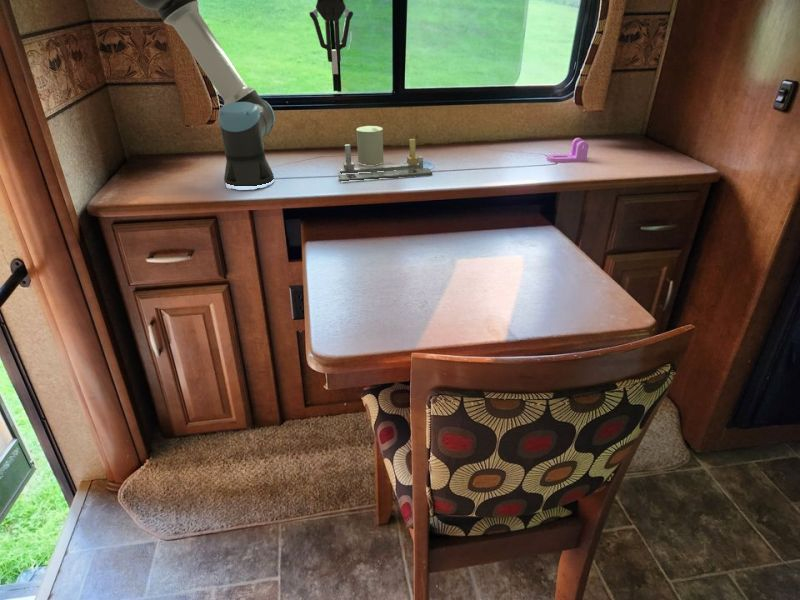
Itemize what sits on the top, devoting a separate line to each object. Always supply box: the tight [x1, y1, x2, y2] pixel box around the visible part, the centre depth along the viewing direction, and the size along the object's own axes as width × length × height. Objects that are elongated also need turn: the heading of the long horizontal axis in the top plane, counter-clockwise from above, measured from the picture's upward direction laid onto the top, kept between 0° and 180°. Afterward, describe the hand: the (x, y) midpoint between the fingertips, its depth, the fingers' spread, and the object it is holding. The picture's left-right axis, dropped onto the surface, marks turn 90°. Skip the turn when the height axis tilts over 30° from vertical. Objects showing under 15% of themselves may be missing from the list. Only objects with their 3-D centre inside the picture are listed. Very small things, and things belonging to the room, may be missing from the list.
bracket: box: [546, 137, 590, 164], centre depth 181 cm, size 13×6×7 cm, turn 96°
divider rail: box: [339, 143, 424, 174], centre depth 172 cm, size 28×3×9 cm, turn 103°
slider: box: [406, 138, 418, 165], centre depth 173 cm, size 3×3×8 cm
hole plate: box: [338, 167, 433, 181], centre depth 168 cm, size 30×5×1 cm, turn 103°
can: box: [355, 125, 385, 166], centre depth 180 cm, size 9×9×12 cm
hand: (335, 73), depth 159 cm, fingers closed
